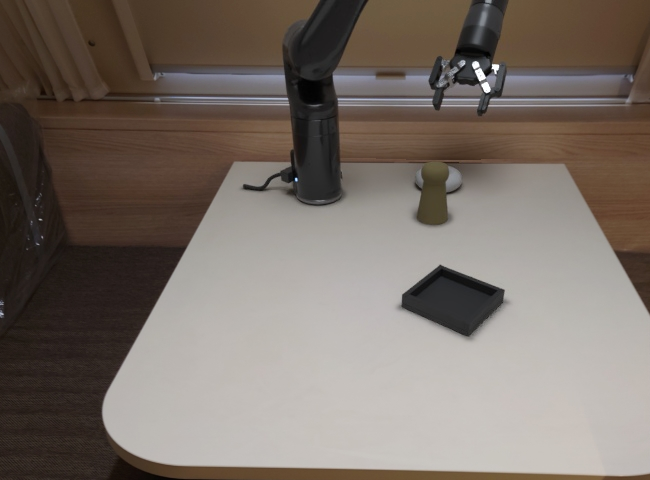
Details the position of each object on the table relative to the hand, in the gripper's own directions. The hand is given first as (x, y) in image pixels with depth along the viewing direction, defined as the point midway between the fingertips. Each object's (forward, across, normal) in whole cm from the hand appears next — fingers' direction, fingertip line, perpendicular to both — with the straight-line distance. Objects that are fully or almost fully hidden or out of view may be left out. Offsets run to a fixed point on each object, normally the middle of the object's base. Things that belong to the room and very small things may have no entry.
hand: (457, 111), depth 110 cm
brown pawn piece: (+20, 0, +4) cm, 21 cm away
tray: (+38, +12, -14) cm, 43 cm away
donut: (+10, -4, +14) cm, 18 cm away
